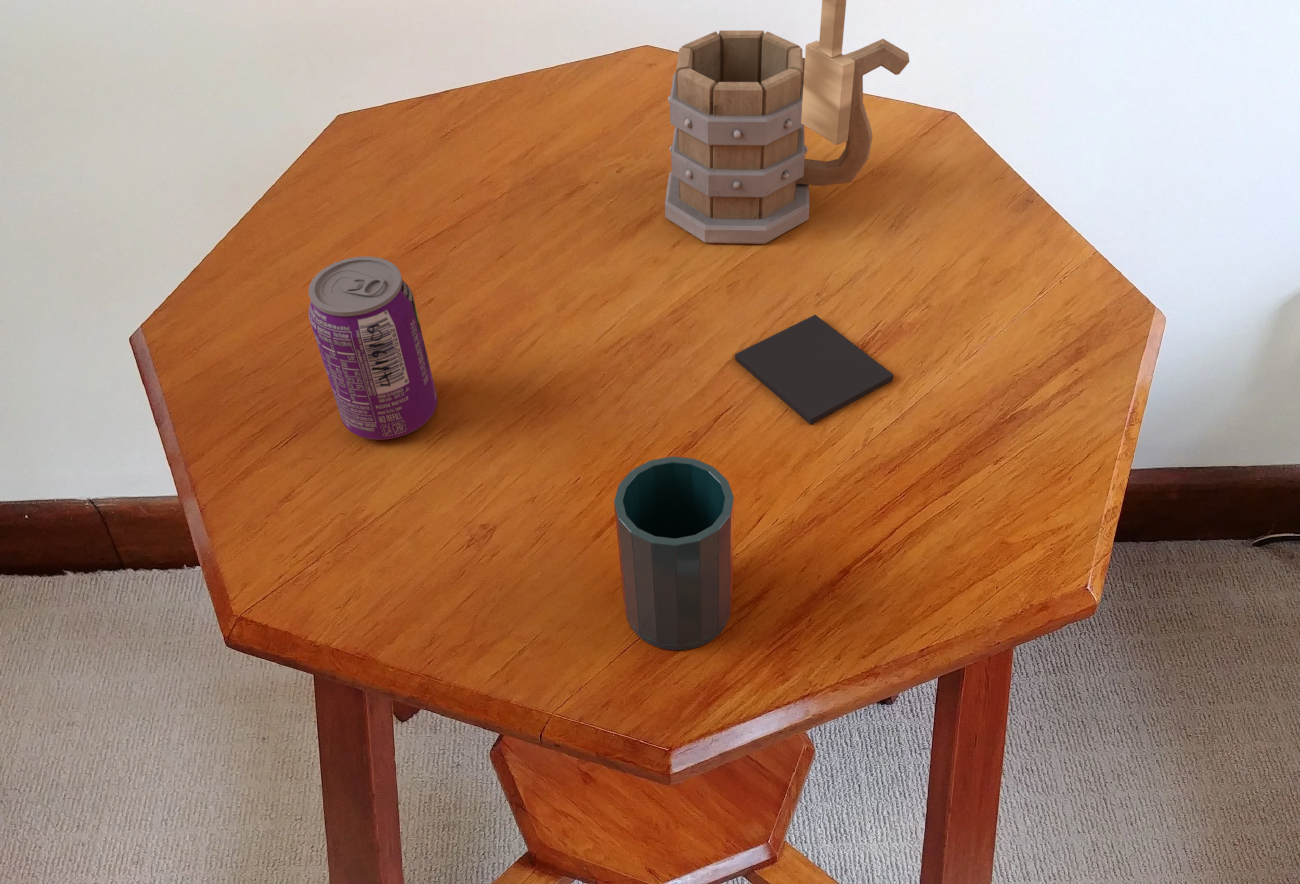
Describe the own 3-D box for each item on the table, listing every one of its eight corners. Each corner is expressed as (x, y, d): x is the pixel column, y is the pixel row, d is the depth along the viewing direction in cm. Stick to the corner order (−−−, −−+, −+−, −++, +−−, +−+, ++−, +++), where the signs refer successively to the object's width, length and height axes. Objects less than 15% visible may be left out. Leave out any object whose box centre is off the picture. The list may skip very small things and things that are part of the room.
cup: (752, 616, 69) (757, 508, 62) (664, 669, 67) (658, 563, 60) (690, 549, 73) (687, 440, 66) (605, 597, 71) (592, 489, 63)
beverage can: (453, 388, 85) (424, 258, 77) (417, 453, 80) (382, 323, 72) (367, 375, 87) (329, 246, 78) (326, 439, 82) (282, 309, 73)
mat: (893, 380, 84) (894, 374, 83) (810, 425, 81) (811, 419, 80) (814, 320, 89) (815, 314, 89) (734, 359, 86) (734, 353, 86)
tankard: (662, 244, 97) (655, 82, 87) (672, 166, 106) (667, 11, 95) (896, 247, 95) (918, 83, 85) (886, 168, 104) (905, 10, 94)
